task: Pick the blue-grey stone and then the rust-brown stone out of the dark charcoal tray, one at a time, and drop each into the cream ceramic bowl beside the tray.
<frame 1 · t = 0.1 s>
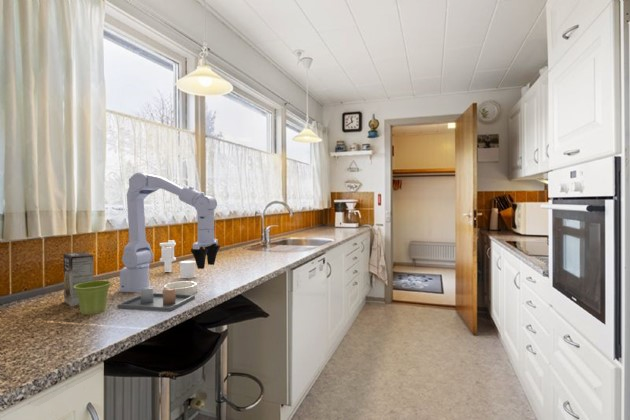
hand: (206, 266, 121), 10 cm above the worktop, tool pointing down, fingers open, 7 cm apart
coffee box: (78, 303, 111), on the worktop
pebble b: (169, 303, 109), resting on tray
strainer: (168, 272, 160), on the worktop
pebble a: (147, 301, 110), resting on tray
plant pot: (93, 313, 101), on the worktop
tray: (158, 304, 110), on the worktop
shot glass: (187, 277, 149), on the worktop
bowl: (180, 293, 122), on the worktop
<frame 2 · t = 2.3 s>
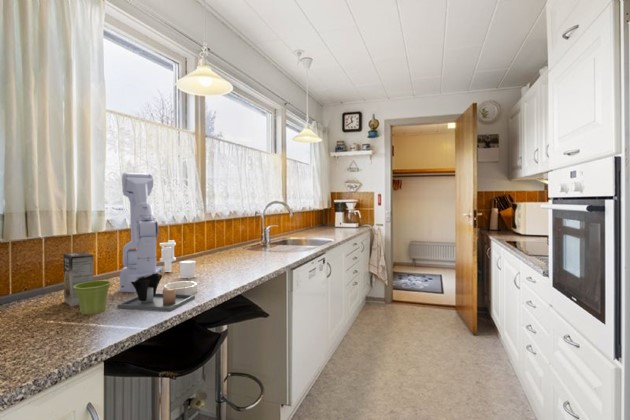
hand: (147, 298, 110), 2 cm above the worktop, tool pointing down, fingers closed on pebble a, 4 cm apart
pebble a: (147, 301, 110), resting on tray, touching gripper
everything else where it was.
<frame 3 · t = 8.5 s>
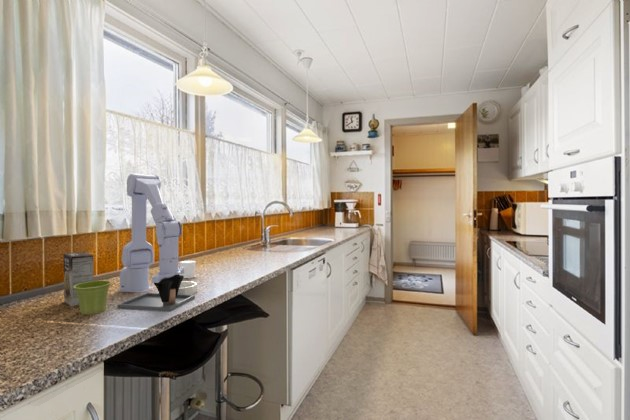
hand: (169, 299, 109), 2 cm above the worktop, tool pointing down, fingers closed on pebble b, 4 cm apart
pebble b: (169, 303, 109), resting on tray, touching gripper
pebble a: (174, 291, 123), point 1 cm above the worktop, touching bowl
everything else where it was.
when the fingers open (4 cm above the worktop, at t = 11.4 s): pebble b drops 2 cm, resting on bowl.
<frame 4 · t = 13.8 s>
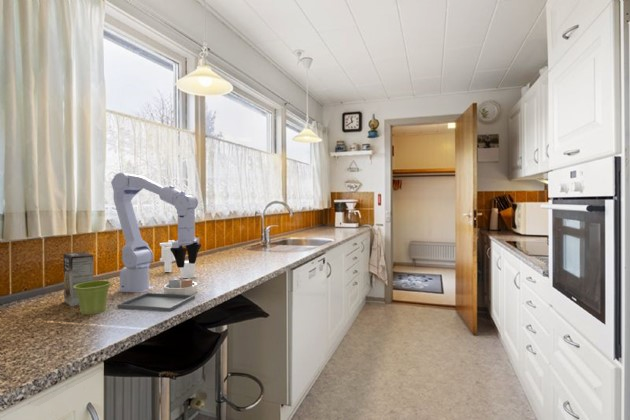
hand: (186, 265, 122), 10 cm above the worktop, tool pointing down, fingers open, 7 cm apart
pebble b: (186, 292, 122), point 1 cm above the worktop, touching bowl
everything else where it was.
at the end: pebble a 2.4 cm from the bowl (horizontally); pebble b 2.5 cm from the bowl (horizontally); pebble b point 0.6 cm above the worktop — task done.
